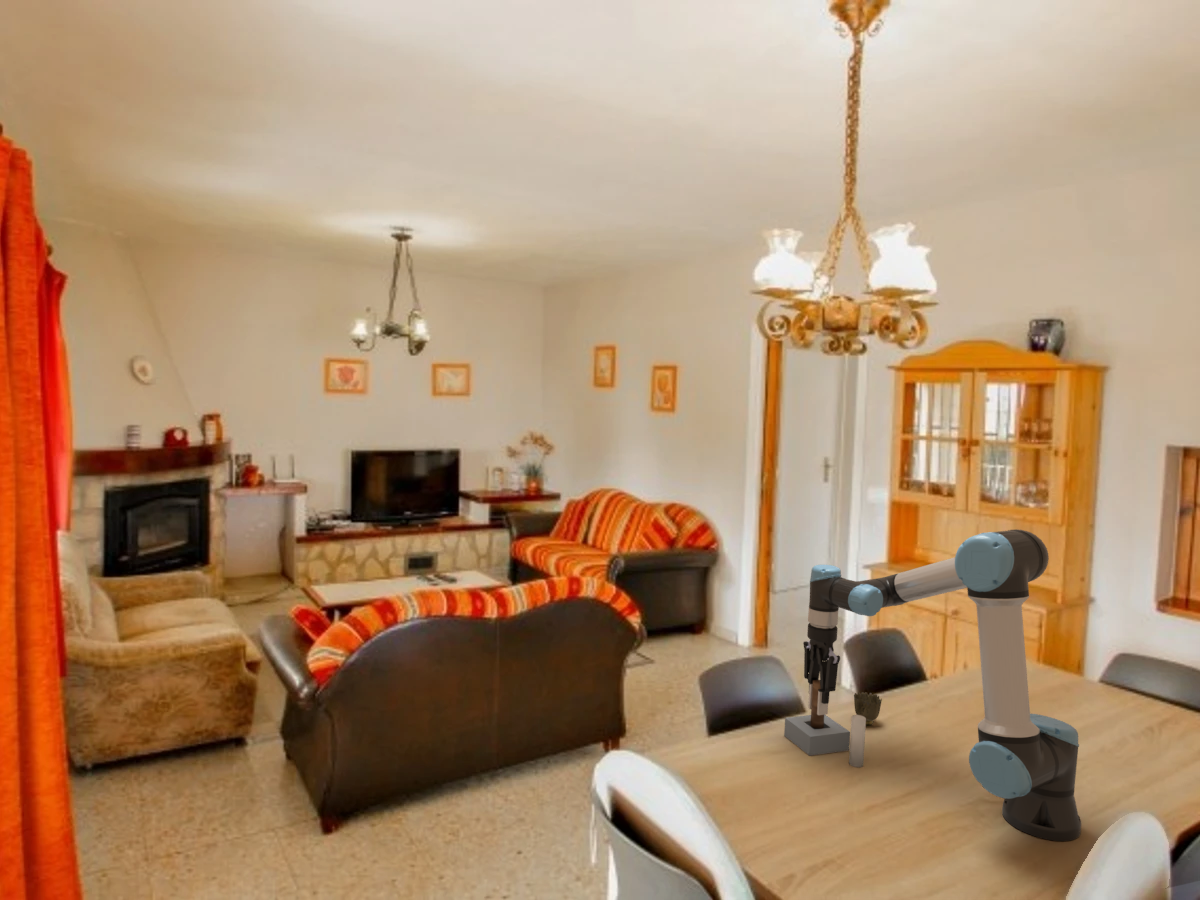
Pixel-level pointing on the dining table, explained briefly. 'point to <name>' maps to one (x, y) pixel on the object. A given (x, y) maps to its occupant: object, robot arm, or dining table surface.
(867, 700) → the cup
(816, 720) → the walnut peg
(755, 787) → the dining table surface
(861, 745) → the pale grey cylinder
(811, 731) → the socket block
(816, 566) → the robot arm
